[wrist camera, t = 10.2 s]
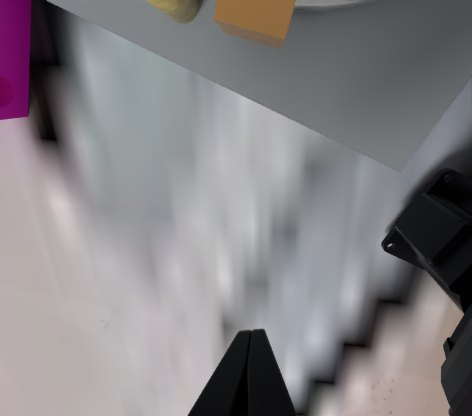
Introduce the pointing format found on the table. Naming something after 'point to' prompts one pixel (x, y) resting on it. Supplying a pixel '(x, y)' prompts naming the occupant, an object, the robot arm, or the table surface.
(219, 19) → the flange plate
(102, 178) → the table surface
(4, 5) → the toy block
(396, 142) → the jig block
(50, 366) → the table surface
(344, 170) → the table surface
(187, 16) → the dowel
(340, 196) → the table surface
